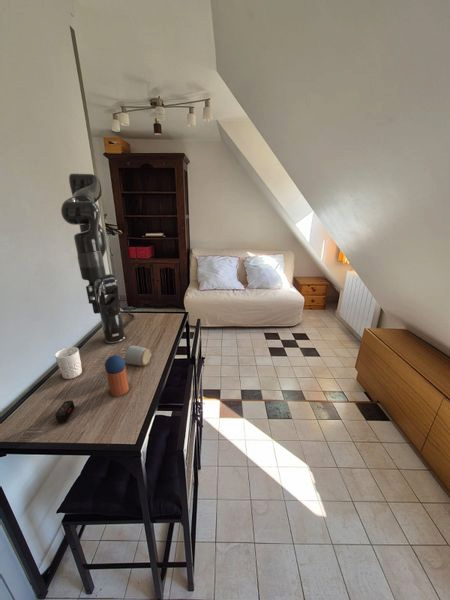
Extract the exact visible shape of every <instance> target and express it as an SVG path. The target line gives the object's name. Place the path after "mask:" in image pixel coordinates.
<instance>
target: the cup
mask: <svg viewBox="0 0 450 600" xmlns="http://www.w3.org/2000/svg"><path fill="white" fill-rule="evenodd" d="M105 373H106V379H107V382H108V388H109V392H110V395H112V396H114V397H119V396H123V395H125V394H127V393H128V391H129V390H130V383H129V378H128V373H127V367H126V366H125V367H124V369H123V370H122V371H121V372H119V373H116V374H110V373H108V372H107V371H106V370H105Z"/></svg>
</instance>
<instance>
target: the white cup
mask: <svg viewBox="0 0 450 600" xmlns="http://www.w3.org/2000/svg"><path fill="white" fill-rule="evenodd" d="M54 358H55V360H56V363H57V366H58V369H59V371H60V373H61V375H62V378H63V379H65V380H71V379H74V378H76V377H79V376H80V375H81V374H82V372H83V368H82V362H81V355H80V350H79V347H76V346H69V347H65V348H62V349H60V350H58V351H56V352H55V354H54Z"/></svg>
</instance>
